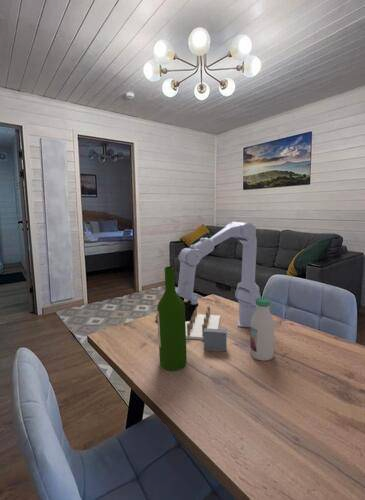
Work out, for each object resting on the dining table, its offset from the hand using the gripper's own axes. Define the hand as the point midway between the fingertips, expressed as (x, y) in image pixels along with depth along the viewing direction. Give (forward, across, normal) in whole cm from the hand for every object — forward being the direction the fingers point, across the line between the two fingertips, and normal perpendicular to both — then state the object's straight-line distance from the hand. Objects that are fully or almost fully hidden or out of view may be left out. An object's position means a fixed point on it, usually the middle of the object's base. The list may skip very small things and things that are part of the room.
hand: (182, 317), depth 100 cm
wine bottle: (+12, +9, -7) cm, 17 cm away
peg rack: (+8, -8, +14) cm, 18 cm away
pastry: (+10, -22, +5) cm, 24 cm away
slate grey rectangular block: (+9, +9, +10) cm, 16 cm away
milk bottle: (+7, +21, +21) cm, 30 cm away
